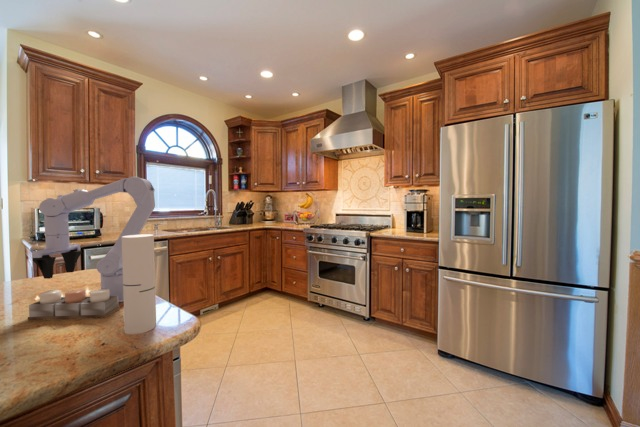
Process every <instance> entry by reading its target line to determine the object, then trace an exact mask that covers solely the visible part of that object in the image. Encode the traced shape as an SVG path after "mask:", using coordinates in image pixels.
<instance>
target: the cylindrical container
mask: <svg viewBox="0 0 640 427" xmlns="http://www.w3.org/2000/svg"><path fill="white" fill-rule="evenodd" d="M122 266H123V297H124V301H123V320H124V322H123V323H124V324H123V325H124V326H123V327H124V333H125V334H126V335H140V334H142V333H146V332H149V331H151V330H154V328H156V327H157V309H156V308H157V307H156V306H157V304H156V300H157V299H156V270H155V268H156V265H155V235H154V234H152V233H151V234H148V233H145V234H142V233H140V234H139V235H128V236H122Z"/></svg>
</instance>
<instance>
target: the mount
mask: <svg viewBox="0 0 640 427" xmlns="http://www.w3.org/2000/svg"><path fill="white" fill-rule="evenodd" d="M119 310H120V305H119V302H118V296H110V299H109V300H107V301H105V302H98V303H90V295H88V296H87V295H86V300H84V301H81V302H79V303H65V296H61V300H60V301H58V302H56V303H53V304H40V300H39V301H36V302H33V303H31V304H29V305H28V316H27V321H28V322H30V321H31V322H32V321H36V322H37V321H57V320H59V321H61V320H62V321H63V320H88V319H91V320H97V319H106V318H107V317H110V316H111V315H112V314H114V313H116V312H117V311H119Z"/></svg>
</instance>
